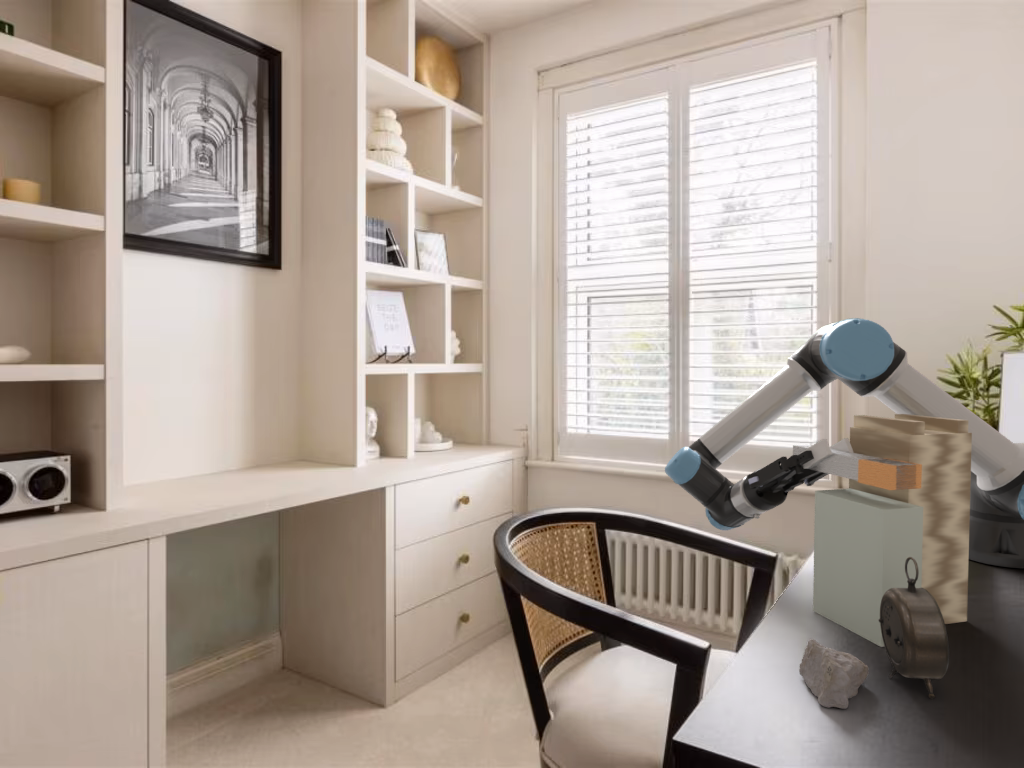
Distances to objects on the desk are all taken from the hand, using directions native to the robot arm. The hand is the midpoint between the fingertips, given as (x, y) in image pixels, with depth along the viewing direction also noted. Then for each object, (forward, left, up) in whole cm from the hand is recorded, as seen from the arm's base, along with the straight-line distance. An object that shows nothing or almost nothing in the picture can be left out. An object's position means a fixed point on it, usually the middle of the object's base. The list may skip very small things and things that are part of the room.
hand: (838, 446), depth 106 cm
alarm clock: (+8, +22, -28) cm, 36 cm away
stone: (+19, +22, -28) cm, 40 cm away
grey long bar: (0, +2, -4) cm, 5 cm away
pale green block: (0, +6, -27) cm, 28 cm away
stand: (-11, +3, -27) cm, 30 cm away
